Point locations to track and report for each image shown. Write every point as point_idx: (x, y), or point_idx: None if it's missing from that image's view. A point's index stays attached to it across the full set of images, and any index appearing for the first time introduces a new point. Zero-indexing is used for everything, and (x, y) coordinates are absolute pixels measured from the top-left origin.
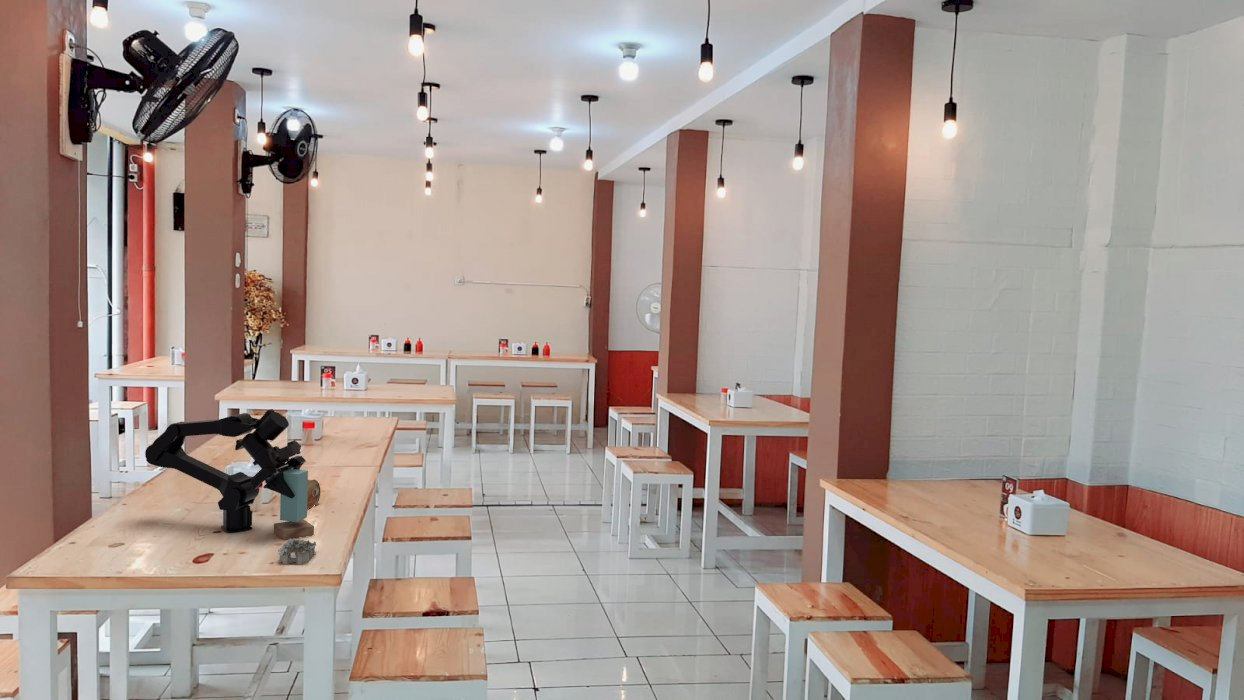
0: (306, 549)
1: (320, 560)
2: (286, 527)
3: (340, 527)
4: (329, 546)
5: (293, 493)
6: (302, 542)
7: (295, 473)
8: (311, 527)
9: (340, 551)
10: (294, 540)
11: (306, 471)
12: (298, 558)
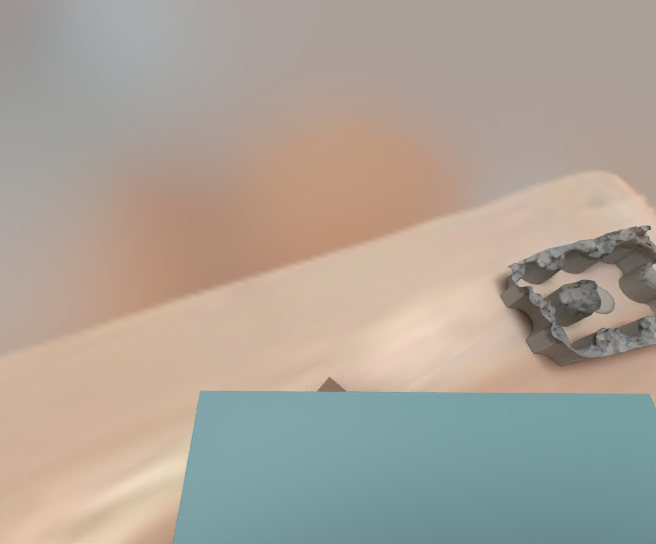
0: (607, 248)
1: (554, 231)
2: None
3: (185, 336)
4: (427, 266)
5: None
6: (549, 304)
7: (644, 518)
8: (339, 386)
9: (454, 216)
10: (566, 336)
11: (272, 395)
12: (639, 262)
